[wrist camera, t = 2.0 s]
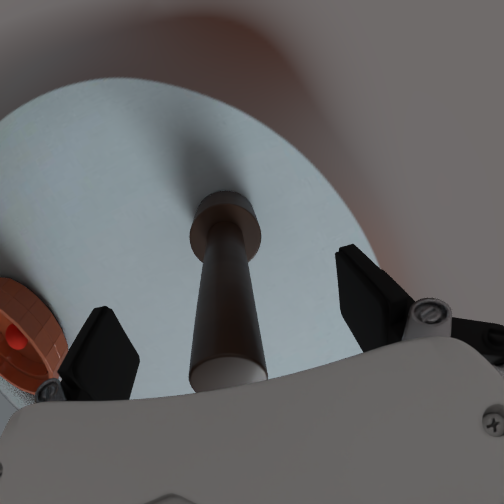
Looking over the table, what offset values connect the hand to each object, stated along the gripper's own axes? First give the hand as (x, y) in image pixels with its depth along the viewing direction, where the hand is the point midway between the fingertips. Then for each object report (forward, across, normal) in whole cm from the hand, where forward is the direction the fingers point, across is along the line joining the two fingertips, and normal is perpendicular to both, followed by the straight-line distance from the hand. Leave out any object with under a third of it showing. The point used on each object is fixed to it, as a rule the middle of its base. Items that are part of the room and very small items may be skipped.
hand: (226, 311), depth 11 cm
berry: (+9, +26, +5) cm, 28 cm away
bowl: (+11, +26, +5) cm, 29 cm away
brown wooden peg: (+11, 0, 0) cm, 11 cm away
